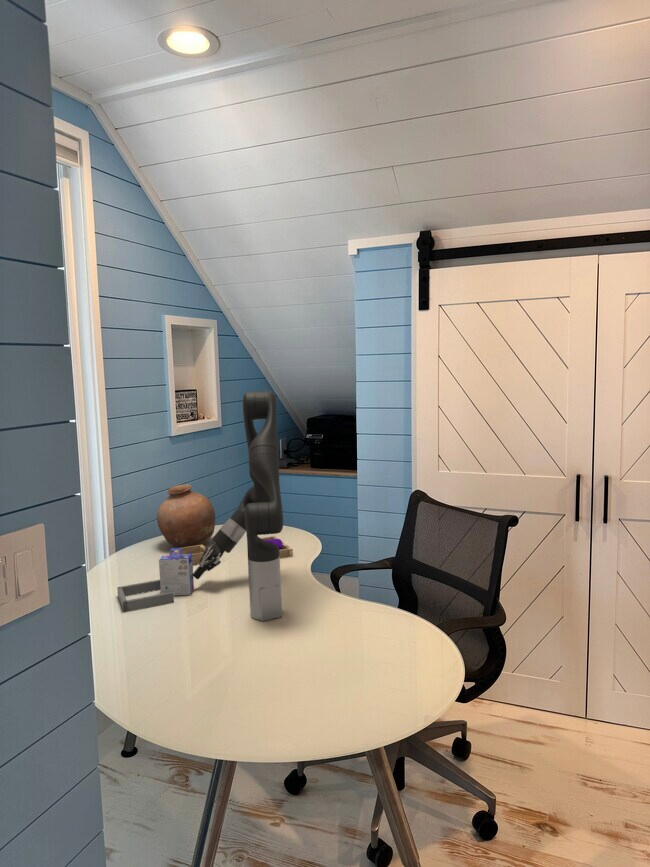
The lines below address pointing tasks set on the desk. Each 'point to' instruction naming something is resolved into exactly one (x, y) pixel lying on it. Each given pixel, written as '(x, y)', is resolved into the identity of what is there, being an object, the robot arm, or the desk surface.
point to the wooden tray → (193, 552)
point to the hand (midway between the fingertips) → (195, 577)
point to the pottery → (186, 517)
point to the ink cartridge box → (176, 573)
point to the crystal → (276, 542)
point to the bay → (144, 601)
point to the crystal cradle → (285, 551)
